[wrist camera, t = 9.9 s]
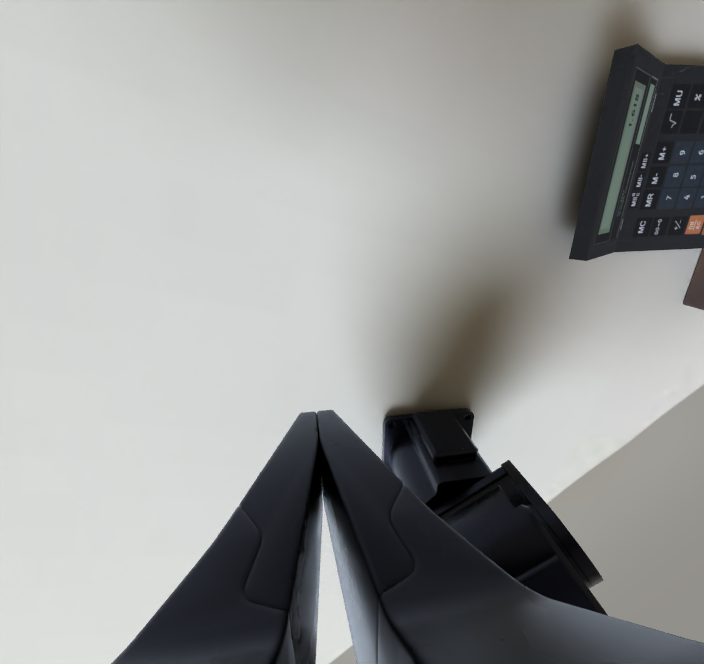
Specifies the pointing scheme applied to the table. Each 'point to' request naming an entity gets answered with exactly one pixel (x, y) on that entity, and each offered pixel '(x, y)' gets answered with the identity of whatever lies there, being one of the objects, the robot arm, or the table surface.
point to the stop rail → (696, 286)
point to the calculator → (645, 160)
